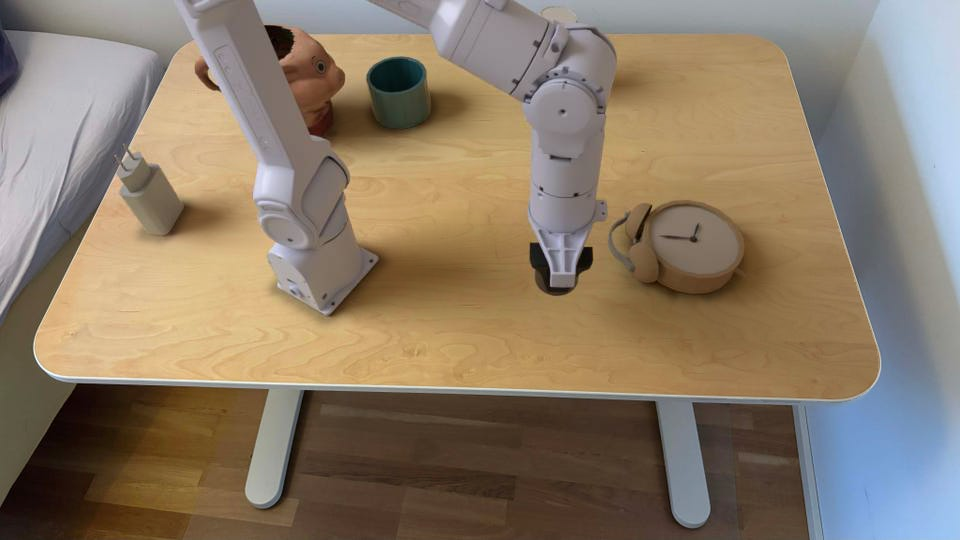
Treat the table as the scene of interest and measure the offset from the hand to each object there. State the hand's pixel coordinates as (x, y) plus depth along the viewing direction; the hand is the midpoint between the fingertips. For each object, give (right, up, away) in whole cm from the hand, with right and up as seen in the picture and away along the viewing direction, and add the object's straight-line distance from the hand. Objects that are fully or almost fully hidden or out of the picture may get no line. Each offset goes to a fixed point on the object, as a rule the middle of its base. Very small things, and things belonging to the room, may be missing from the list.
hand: (557, 269), depth 66 cm
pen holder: (-19, +23, +29) cm, 41 cm away
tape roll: (0, -1, +1) cm, 2 cm away
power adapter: (-48, +6, +19) cm, 52 cm away
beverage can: (+2, +26, +30) cm, 39 cm away
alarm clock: (+15, +1, +11) cm, 18 cm away
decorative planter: (-35, +20, +28) cm, 49 cm away
